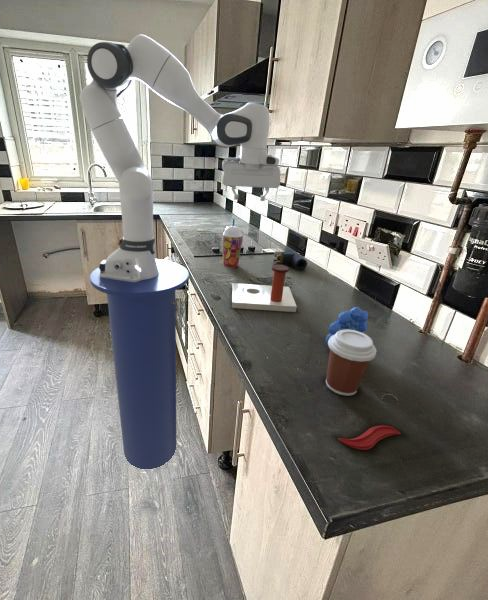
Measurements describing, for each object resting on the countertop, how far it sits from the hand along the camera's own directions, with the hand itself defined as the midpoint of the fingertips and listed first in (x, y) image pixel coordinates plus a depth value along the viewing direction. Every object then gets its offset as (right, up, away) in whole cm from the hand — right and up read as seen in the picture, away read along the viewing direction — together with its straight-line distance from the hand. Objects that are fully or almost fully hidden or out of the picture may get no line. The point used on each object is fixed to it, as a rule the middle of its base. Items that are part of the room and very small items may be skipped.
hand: (249, 200), depth 116 cm
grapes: (+19, -49, -33) cm, 62 cm away
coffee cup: (+14, -55, -46) cm, 73 cm away
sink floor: (+3, -36, -8) cm, 37 cm away
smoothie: (-5, -21, +23) cm, 32 cm away
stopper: (+7, -36, -12) cm, 39 cm away
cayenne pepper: (+14, -61, -59) cm, 86 cm away
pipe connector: (+20, -20, +27) cm, 39 cm away
